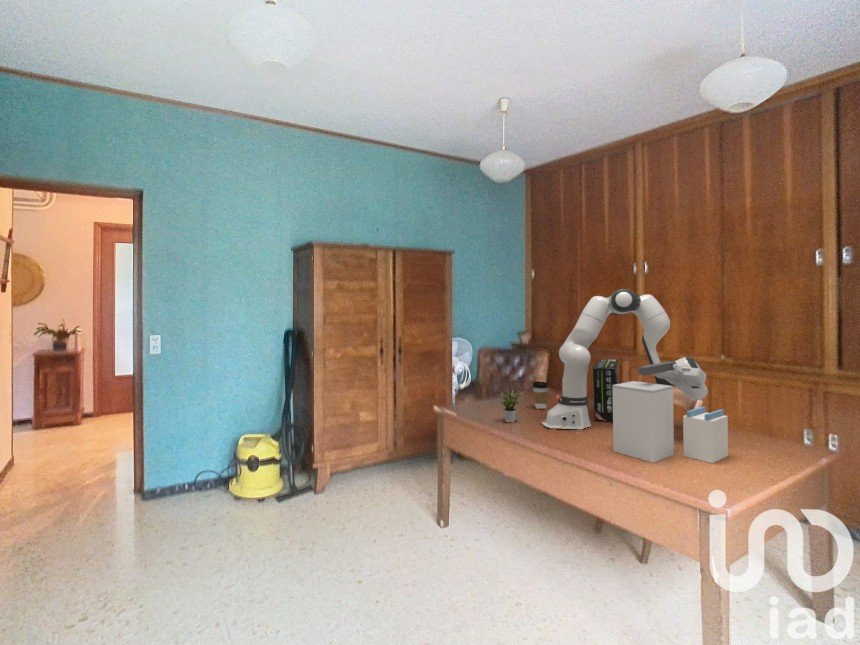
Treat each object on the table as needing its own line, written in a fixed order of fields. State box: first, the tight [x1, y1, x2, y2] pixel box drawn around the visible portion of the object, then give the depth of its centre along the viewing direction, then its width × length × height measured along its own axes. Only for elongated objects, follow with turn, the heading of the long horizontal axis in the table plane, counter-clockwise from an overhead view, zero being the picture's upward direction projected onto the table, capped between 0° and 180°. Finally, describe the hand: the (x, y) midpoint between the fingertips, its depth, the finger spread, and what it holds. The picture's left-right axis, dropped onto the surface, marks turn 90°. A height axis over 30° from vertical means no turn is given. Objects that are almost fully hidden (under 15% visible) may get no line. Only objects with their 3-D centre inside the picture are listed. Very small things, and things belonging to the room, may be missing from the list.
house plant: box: [498, 389, 524, 421], centre depth 222 cm, size 14×14×16 cm
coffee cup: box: [532, 380, 549, 409], centre depth 249 cm, size 8×8×15 cm
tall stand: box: [612, 380, 675, 463], centre depth 171 cm, size 14×16×26 cm
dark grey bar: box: [637, 361, 676, 377], centre depth 177 cm, size 22×3×3 cm, turn 124°
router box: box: [592, 358, 620, 422], centre depth 234 cm, size 36×11×27 cm, turn 156°
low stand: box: [682, 406, 729, 464], centre depth 166 cm, size 12×10×17 cm
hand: (667, 365), depth 181 cm, fingers closed on dark grey bar, 3 cm apart
